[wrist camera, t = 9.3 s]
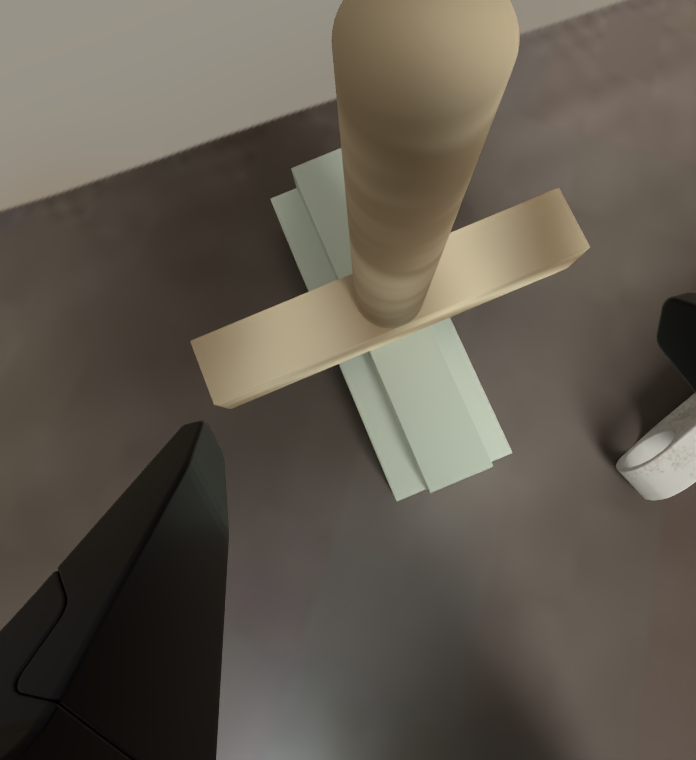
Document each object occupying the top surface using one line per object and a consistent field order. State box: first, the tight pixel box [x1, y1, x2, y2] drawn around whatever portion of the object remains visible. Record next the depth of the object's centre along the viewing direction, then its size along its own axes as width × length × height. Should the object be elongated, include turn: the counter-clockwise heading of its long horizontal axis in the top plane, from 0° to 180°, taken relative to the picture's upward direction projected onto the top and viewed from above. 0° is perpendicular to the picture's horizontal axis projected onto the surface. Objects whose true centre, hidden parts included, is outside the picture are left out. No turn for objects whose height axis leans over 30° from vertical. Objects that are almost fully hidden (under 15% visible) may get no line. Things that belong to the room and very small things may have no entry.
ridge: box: [271, 148, 512, 501], centre depth 21 cm, size 14×5×4 cm, turn 23°
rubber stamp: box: [190, 0, 590, 409], centre depth 12 cm, size 14×2×12 cm, turn 113°
